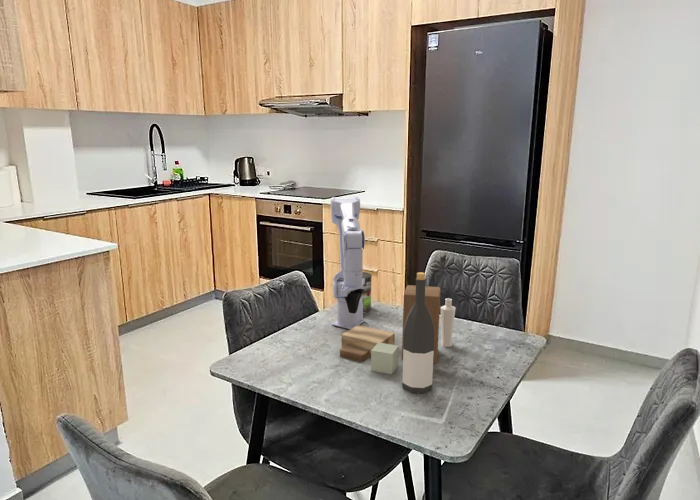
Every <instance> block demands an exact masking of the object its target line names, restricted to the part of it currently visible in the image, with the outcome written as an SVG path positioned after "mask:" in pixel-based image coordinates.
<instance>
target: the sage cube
mask: <svg viewBox="0 0 700 500" xmlns="http://www.w3.org/2000/svg"><path fill="white" fill-rule="evenodd" d="M399 349H400V347H399V345H398V344H397V345H395V344H394V345H391V344H385V343H377V344H376V346H375V347H374V348H373V349H372V350H371V356H370V371H371V372H378V373H383V374H387V375H388V374H389V375H393V373H394V372H395V371H396V369H397V368H398V366H399Z"/></svg>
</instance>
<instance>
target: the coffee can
mask: <svg viewBox="0 0 700 500" xmlns="http://www.w3.org/2000/svg"><path fill="white" fill-rule="evenodd" d="M372 276H373V275H372V273H369V272H367V271H362V278H365V284H364V285H363V290H364V292H363V295H362V297H361V300H362V302H363V314H365V313H369V312H370V311H371V310H372ZM369 310H370V311H369ZM364 312H365V313H364Z"/></svg>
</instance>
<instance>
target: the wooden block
mask: <svg viewBox="0 0 700 500" xmlns="http://www.w3.org/2000/svg"><path fill="white" fill-rule="evenodd" d="M415 296H416V285H412V284H411V285H410V284H407V285H406V287H405V290H404V294H403V305H402V308H403V310H402V340H401V341H402V342H401V343H402V345H401V360H402V361H403V346H404V326H405V322H406V319H407V316H408V314H409V312H410V310H411V309H412V307H413V305H414V303H415ZM425 305H426V307H427V309H428V311H429V313H430V315H431V318H432V322H433V327H434V353H433V364H437V362H438V355H439V354H438V353H439V351H438V350H439V335H440V333H439V331H440V315H441V309H440V307H441V287H440V286H428V285H427V286H426V285H425Z"/></svg>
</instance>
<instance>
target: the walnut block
mask: <svg viewBox="0 0 700 500" xmlns="http://www.w3.org/2000/svg"><path fill="white" fill-rule="evenodd" d="M339 357H342V358H346V359H350V360H353V361H357V362H360V363H362V362H364V361H366V360H367V359H368V358H371V349H367V348H363V347H359V346H355V345H350V344H348V345H347V346H345V347H344V348H342V347H341V349H339Z"/></svg>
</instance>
